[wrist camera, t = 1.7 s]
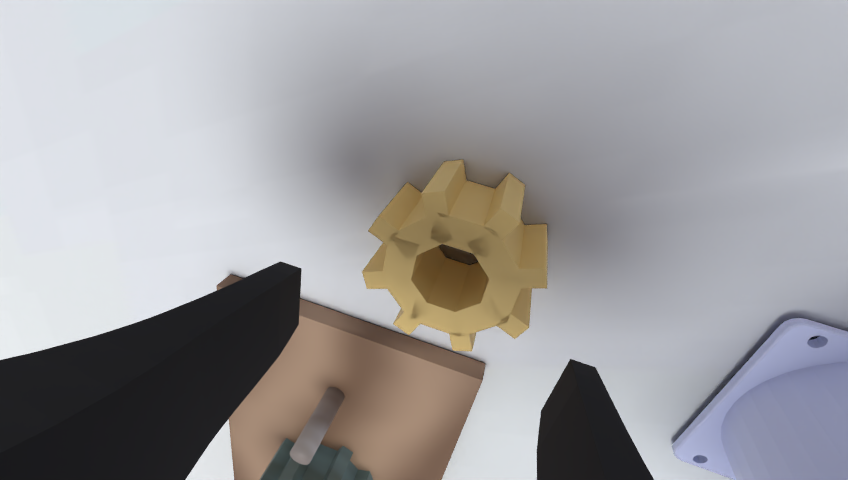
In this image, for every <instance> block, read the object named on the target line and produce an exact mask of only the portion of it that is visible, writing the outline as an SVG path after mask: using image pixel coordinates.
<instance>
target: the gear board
mask: <svg viewBox="0 0 848 480" xmlns="http://www.w3.org/2000/svg"><path fill="white" fill-rule="evenodd" d="M241 279H243V278H240V277H237V276H234V275H231V274H230V275H229V276H228V277H227V278H225V279H224V280H223V281H222V282H220V283H219V284H218V285H217V290H219V289H222V288H224V287H226V286H228V285H230V284H233V283H235V282H237V281H239V280H241ZM484 369H485V363H482V362H479V361H476V360H474V359H471V358H468V357H465V356H462V355H459V354H457V353H454V352H451V351H448V350H445V349H442V348H439V347H437V346H434V345H431V344H428V343H425V342H422V341H419V340H417V339H414V338H411V337H408V336H405V335H402V334H400V333H397V332H394V331H391V330H388V329H385V328H382V327H380V326H377V325H374V324H371V323H368V322H365V321H362V320H360V319H357V318H354V317H351V316H348V315H345V314H343V313H340V312H337V311H334V310H331V309H328V308H325V307H323V306H320V305H317V304H314V303H311V302H308V301H305V300H303V299H300V309H299V325H298V327H297V328H296V330H295V332H294V333H293V335H292V337H291V338H290V340H289V342H288V343H287V345H286V346H285V348H284V349H283V351H282V352H281V354H280V356H279V357H278V358H277V360H276V361H275V362H274V363H273V365H272V366H271V367H270V368H269V370H268V371H267V372H266V373H265V375H264V376H263V377H262V378H261V380H260V381H259V382H258V383H257V384H256V386H255V387H254V388H253V389H252V391H251V392H250V393H249V394H248V395H247V397H246V398H245V399H244V400H243V402H242V403H241V404H240V405H239V407H238V408H237V409H236V410H235V411H234V413H233V414H232V415H231V416H230V418H229V426H230V437H231V448H232V458H233V469H234V480H441V479H442V477H443V474H444V472H445V470H446V467H447V465H448V462H449V460H450V458H451V455H452V453H453V450H454V448H455V445H456V443H457V441H458V438H459V436H460V433H461V431H462V429H463V426H464V424H465V421H466V419H467V417H468V414H469V412H470V409H471V407H472V404H473V402H474V400H475V397H476V395H477V392H478V390H479V388H480V385H481V383H482V380H483V375H484Z"/></svg>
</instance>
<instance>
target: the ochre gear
mask: <svg viewBox="0 0 848 480" xmlns="http://www.w3.org/2000/svg"><path fill="white" fill-rule="evenodd" d="M524 190H525V185H524V184H523V183H522V182H521V181H519V180H518V179H517V178H515V177H514V176H513V175H512V174H510V173H509V174H508V175H507V176H506V177H505V178H504V179H503V181H502V182H501V183H500V184H499V185H498V186H497V187H496V188H495V189H494V188H491V187H488V186H484V185H481V184H477V183H474V182H471V181H467V180H466V174H465V167H464V161H463V160H454V161H444V162H443V164H442V165H441V166H440V168H439V169H438V171H437V172H436V173H435V175H434V176H433V178H432V179H431V180H430V182H429V183H428V185H427V186H426V187H425V189H424V190H423V192H422V193H421V192H420V191H418V190H417V189H416V188H414V187H413V186H412V185H410V184H409V183H408V182H407V183H406V184H405V185H404V186H403V188H402V189H401V190H400V191H399V192H398V194H397V195H396V196H395V197H394V198H393V199H392V201H391V202H390V203H389V204H388V205H387V207H386V208H385V209H384V210H383V211H382V212H381V214H380V215H379V216H378V217H377V219H376V220H375V222H374V223H373V225H372V226H371V227H370V229H369V230H368V231H369V232H370V233H372V234H373V235H374V236H376V237H377V238H378V239H380V240H381V241H382V242H383V244H382V245H381V246H380V248H379V249H378V250H377V252H376V253H375V255H374V256H373V257H372V259H371V260H370V261H369V263H368V264H367V266H366V267H365V268H364V270H363V271H362V273H363V277H364V280H365V283H366V287H367V289H388V290H389V292H390V293H391V295H392V296H393V297H394V299H395V300H396V301H397V303H398V304H399V306H400V307H401V310H400V312H399V314H398V316H397V318H396V320H395V322H394V323H393V324H394V325H395V326H397V327H398V328H400V329H401V330H402V331H404V332H405V333H407V334H408V335H410V334H411V333H412V332H413V331H414V330H415V328H416V327H417V326H418V325H419V324H423V325H426V326H428V327H431V328H434V329H437V330H440V331H443V332H446V333H449V335H450V340H451V345H452V350H453V351H472V349H473V345H474V340H475V336H476V332H478V331H481V330H484V329H488V328H491V327H494V326H498V327H499V328H501V329H502V330H503V331H505V332H506V333H507V334H509V335H510V336H511V337H513V338H514V339H515V338H517V337H518V336H519V335H520V334H522V333H523V332H524V331H525V330H527V329H528V328H529V321H530V307H531V292H532V288H547V254H548V239H547V224H536V225H524V223H523V221H522V220H521V211H522V204H523V197H524ZM441 244H444V245H447V246H450V247H454V248H457V249H460V250H463V251H466V252H469V253H472V254H474V255H475V257H476V259H477V260H478V262H477V263H474V264H472V265H467V264H464V263H461V262H458V261H455V260H452V259H449V258H446V257H445V255H444V254H443V252H442V251H441V249H440V248H439V245H441Z"/></svg>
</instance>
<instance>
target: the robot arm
mask: <svg viewBox="0 0 848 480" xmlns="http://www.w3.org/2000/svg"><path fill="white" fill-rule="evenodd" d="M300 287H301V268H298V267H295V266H292V265H289V264H286V263H283V262H279V263H276V264H274V265H272V266H269V267H267V268H265V269H263V270H261V271H259V272H256V273H254V274H252V275H250V276H248V277H246V278H244V279H241V280H239V281H237V282H235V283H233V284H230V285H228V286H226V287H224V288H222V289H219V290H217V291H215V292H213V293H210V294H208V295H206V296H204V297H201V298H199V299H196V300H194V301H191V302H189V303H186V304H184V305H181V306H179V307H177V308H174V309H172V310H169V311H167V312H164V313H162V314H159V315H156V316H154V317H151V318H148V319H146V320H143V321H140V322H137V323H134V324H131V325H128V326H125V327H122V328H119V329H116V330H113V331H110V332H106V333H103V334H100V335H97V336H93V337H90V338H86V339H82V340H79V341H75V342H71V343H67V344H64V345H60V346H56V347H53V348H49V349H45V350H42V351H38V352H34V353H30V354H25V355H21V356H16V357H12V358H8V359H3V360H0V480H185V479H186V478H187V476H188V475H189V473H190V472H191V470H192V469H193V467H194V466H195V464H196V463H197V461H198V460H199V458H200V457H201V455H202V454H203V452H204V451H205V449H206V448H207V446H208V445H209V443H210V442H211V441H212V439H213V438H214V437H215V435H216V434H217V433H218V431H219V430H220V429H221V427H222V426H223V425H224V424H225V422H226V421H227V420H228V419H229V418H230V416H231V415H232V414H233V413H234V411H235V410H236V409H237V408H238V407H239V405H240V404H241V403H242V402H243V400H244V399H245V398H246V397H247V395H248V394H249V393H250V392H251V391H252V389H253V388H254V387H255V386H256V384H257V383H258V382H259V381H260V380H261V378H262V377H263V376H264V375H265V373H266V372H267V371H268V370H269V368H270V367H271V366H272V365H273V363H274V362H275V361H276V360H277V358H278V357H279V356H280V354H281V352H282V351H283V349H284V348H285V346H286V345H287V343H288V342H289V340H290V338H291V337H292V335H293V333H294V332H295V330H296V328H297V327H298V325H299V309H300ZM818 335H819V337H818V338H816V339H812V340H809V339H810V338H811V337H813V336H818ZM672 448H673V452H674V455H675V456H676V458H678V459H680V460H682V461H684V462H687V463H690V464H692V465H695V466H698V467H701V468H704V469H706V470H709V471H712V472H715V473H717V474H720V475H723V476H726V477H729V478H731V479H734V480H848V332H847V331H844V330H841V329H837V328H834V327H831V326H828V325H824V324H821V323H818V322H814V321H811V320H808V319H803V318H794V319H790V320H787V321H785V322H783V323H782V324H781V325H780V326H779V327H778V328H777V329H776V330H775V331H774V332H773V333H772V335H771V336H770V337H769V338H768V339H767V340H766V341H765V342H764V343H763V345H762V346H761V347H760V348H759V349H758V350H757V351H756V352H755V353H754V354H753V356H752V357H751V358H750V359H749V360H748V361H747V362H746V363H745V364H744V366H743V367H742V368H741V369H740V370H739V371H738V372H737V373H736V374H735V376H734V377H733V378H732V379H731V380H730V381H729V382H728V383H727V384H726V386H725V387H724V388H723V389H722V390H721V391H720V392H719V393H718V394H717V395H716V397H715V398H714V399H713V400H712V401H711V402H710V403H709V404H708V405H707V407H706V408H705V409H704V410H703V411H702V412H701V413H700V414H699V415H698V417H697V418H696V419H695V420H694V421H693V422H692V423H691V424H690V425H689V427H688V428H687V429H686V430H685V431H684V432H683V433H682V434H681V435H680V436H679V438H678V439H677V440H676V441H675V442H674V443H673V445H672ZM537 480H654V479H653V477H652V476H651V474H650V472H649V470H648V469H647V467H646V465H645V463H644V461H643V459H642V458H641V456H640V454H639V452H638V450H637V448H636V446H635V445H634V443H633V441H632V439H631V437H630V435H629V433H628V431H627V430H626V428H625V426H624V424H623V422H622V420H621V418H620V416H619V414H618V412H617V410H616V408H615V406H614V404H613V402H612V400H611V398H610V396H609V394H608V392H607V390H606V388H605V386H604V384H603V382H602V380H601V378H600V376H599V374H598V372H597V370H596V368H595V367H592V366H589V365H587V364H584V363H581V362H578V361H575V360H572V359H570V361H569V362H568V364H567V366H566V368H565V370H564V371H563V373H562V375H561V377H560V378H559V380H558V382H557V384H556V386H555V387H554V389H553V391H552V393H551V394H550V396H549V398H548V400H547V401H546V403H545V405H544V407H543V409H542V410H541V418H540V426H539V435H538V445H537Z"/></svg>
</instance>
